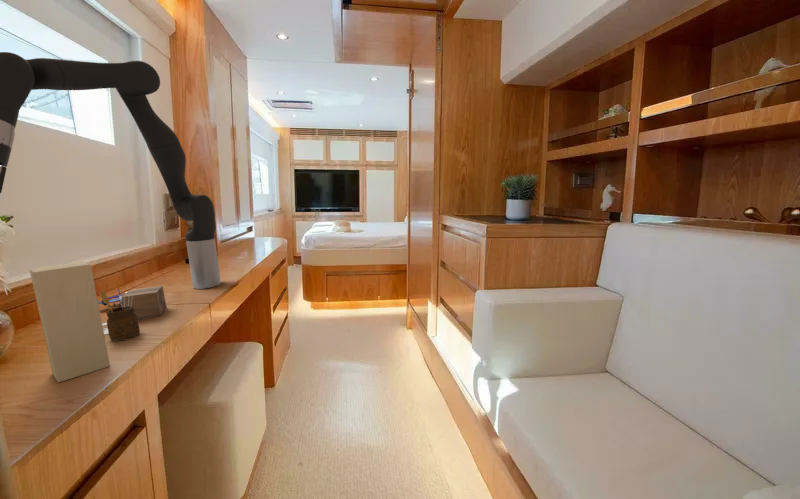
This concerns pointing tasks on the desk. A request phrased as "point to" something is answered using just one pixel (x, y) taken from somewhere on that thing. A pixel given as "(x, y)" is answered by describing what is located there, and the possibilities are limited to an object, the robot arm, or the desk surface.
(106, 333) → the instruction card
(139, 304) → the walnut base block
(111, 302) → the toy airplane
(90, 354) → the toy refrigerator
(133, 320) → the utensil holder
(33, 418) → the desk surface
